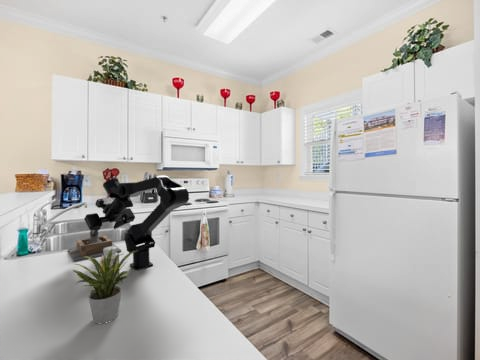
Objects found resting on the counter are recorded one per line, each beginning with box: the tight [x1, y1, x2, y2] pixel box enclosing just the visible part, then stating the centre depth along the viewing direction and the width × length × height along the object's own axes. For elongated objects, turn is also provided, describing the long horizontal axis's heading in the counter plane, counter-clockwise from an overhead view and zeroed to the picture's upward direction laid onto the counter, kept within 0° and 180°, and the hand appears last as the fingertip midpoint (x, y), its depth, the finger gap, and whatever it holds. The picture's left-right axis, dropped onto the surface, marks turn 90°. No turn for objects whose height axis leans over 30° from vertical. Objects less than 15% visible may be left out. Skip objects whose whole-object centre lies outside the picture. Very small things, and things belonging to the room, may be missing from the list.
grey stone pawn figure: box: [87, 229, 102, 244], centre depth 107 cm, size 6×6×12 cm
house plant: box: [72, 249, 138, 324], centre depth 60 cm, size 14×14×16 cm
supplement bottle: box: [100, 245, 120, 278], centre depth 82 cm, size 5×5×10 cm
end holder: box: [67, 235, 122, 263], centre depth 107 cm, size 18×17×5 cm
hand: (103, 230), depth 103 cm, fingers open, 9 cm apart
